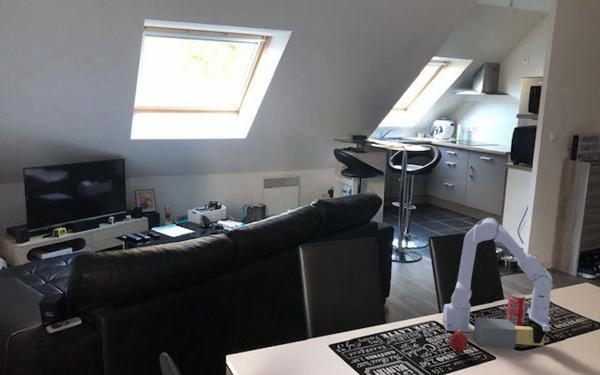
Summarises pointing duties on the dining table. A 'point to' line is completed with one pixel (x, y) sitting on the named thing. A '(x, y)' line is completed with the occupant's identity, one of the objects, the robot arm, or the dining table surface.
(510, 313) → the beverage can
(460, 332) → the onion
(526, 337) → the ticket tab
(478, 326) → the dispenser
